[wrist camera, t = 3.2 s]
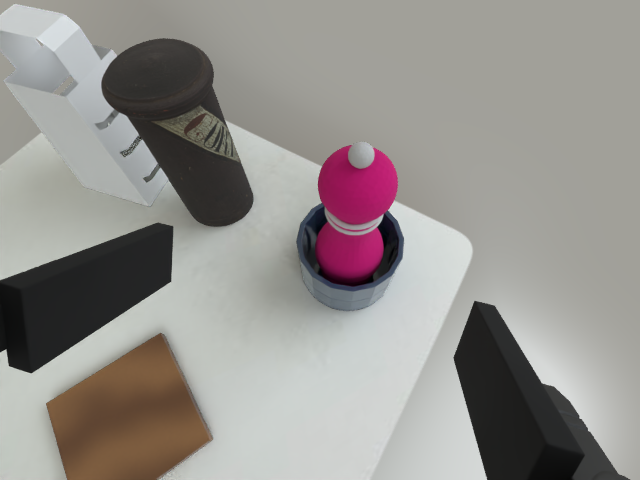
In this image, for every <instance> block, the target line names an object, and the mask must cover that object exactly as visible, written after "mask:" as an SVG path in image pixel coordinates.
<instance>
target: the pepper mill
mask: <svg viewBox="0 0 640 480" xmlns="http://www.w3.org/2000/svg"><path fill="white" fill-rule="evenodd" d="M397 179H398V178H397V173H396V170H395V168H394V165H393V164H392V162H391V161H390V159H389V158H388V157H387V156H386V155H385V154H384V153H382V152H381V151H379V150H377V149H375V148H373V147H372V146H371V145H370V144H368V143H366V142H357V143H355V144H353V145H350V146H346V147H343V148H341V149H339V150H337V151H336V152H334V153H333V154H332V155H331V156H330V157H329V158H328V159H327V160H326V161H325V163H324V164H323V166H322V168H321V171H320V174H319V178H318V191H319V196H320V199H321V201H322V203H323V205H324V206H325V215H326V218H327V220H328V222H327V223H326V224H325V225H324V226H323V228H322V229H321V231H320V232H319V234H318V236H317V239H316V244H315V256H316V260H317V263H318V265H319V267H320V268H321V272H322V275H323V277H324V278H325V279H326V280H328V281H330V282H331V283H334V284H340V285H345V286H351V287H354V286H359V285H364V284H366V283H367V282H368V281H369V280H370V278H371V276H372V275H373V274H374V273H375V272H376V270H377V269H378V268H379V266H380V264H381V261H382V258H383V251H384V246H383V240H382V236H381V233H380V232H379V230H378V228H377V226H378V225H379V224H380V222H381V221H382V218H383V215H384V213H385V212H386V211H387V210H388V209H389V208H390V206H391V205H392V203H393V202H394V199H395V197H396V193H397V188H398V181H397Z"/></svg>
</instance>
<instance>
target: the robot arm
mask: <svg viewBox="0 0 640 480" xmlns="http://www.w3.org/2000/svg"><path fill="white" fill-rule="evenodd" d="M172 247H173V226H169V225H165V224H161V223H156V224H153V225H150V226H147V227H145V228H142V229H139V230H137V231H134V232H131V233H128V234H126V235H123V236H120V237H118V238H115V239H112V240H109V241H107V242H104V243H101V244H99V245H96V246H93V247H91V248H88V249H85V250H82V251H80V252H77V253H74V254H72V255H69V256H66V257H63V258H61V259H58V260H54V261H52V262H49V263H46V264H43V265H41V266H39V267H35V268H33V269H30V270H27V271H25V272H22V273H19V274H16V275H14V276H11V277H8V278H5V279H3V280H0V352H2V351H4V350H5V349H7V356H8V363H9V366H10V367H13V368H16V369H19V370H22V371H25V372H28V373H33V372H34V371H36V370H37V369H39V368H40V367H42V366H43V365H45V364H46V363H48V362H49V361H51V360H52V359H54V358H55V357H57V356H59V355H60V354H62V353H63V352H65V351H66V350H68V349H69V348H71V347H72V346H74V345H75V344H77V343H78V342H80V341H81V340H83V339H84V338H86V337H87V336H89V335H90V334H92V333H94V332H95V331H97V330H98V329H100V328H101V327H103V326H104V325H106V324H107V323H109V322H110V321H112V320H113V319H115V318H116V317H118V316H119V315H121V314H122V313H124V312H125V311H127V310H129V309H130V308H132V307H133V306H135V305H136V304H138V303H139V302H141V301H142V300H144V299H145V298H147V297H148V296H150V295H151V294H153V293H154V292H156V291H157V290H159V289H160V288H162V287H163V286H165V285H167V284H168V283H170V282H171V272H172ZM454 361H455V365H456V369H457V372H458V376H459V379H460V383H461V387H462V390H463V394H464V398H465V401H466V405H467V408H468V412H469V415H470V419H471V422H472V426H473V430H474V434H475V437H476V441H477V444H478V448H479V452H480V455H481V459H482V462H483V466H484V470H485V473H486V476H487V480H630V479H628V478H626V477H624V476H622V475H619V474H618V473H617V471H616V470H615V468H614V467H613V465H612V464H611V462H610V461H609V459H608V458H607V456H606V455H605V453H604V452H603V450H602V449H601V448H600V446H599V444H598V443H597V442H596V440H595V439H594V437H593V436H592V434H591V433H590V432H589V431H588V428H587V427H586V425H585V424H584V422H583V421H582V419H579V415H578V413H577V412H576V410H575V409H574V407H573V406H572V405H571V403H570V401H569V400H568V399H566V398H565V397H564V396H563V395H562V394H561V393H560V392H559V391H558V390H557V389H556V388H555V387H553V386H549V385H545V384H542V383H541V381H540V380H539V378H538V376H537V375H536V373H535V371H534V370H533V368H532V366H531V365H530V363H529V361H528V360H527V358H526V357H525V355H524V353H523V352H522V350H521V348H520V347H519V345H518V344H517V342H516V340H515V338H514V337H513V335H512V334H511V332H510V330H509V329H508V327H507V325H506V324H505V322H504V320H503V319H502V317H501V315H500V314H499V312H498V310H497V309H496V307H495V306H493V305H490V304H485V303H482V302H477V301H474V304H473V307H472V309H471V312H470V315H469V318H468V321H467V323H466V325H465V328H464V331H463V334H462V336H461V339H460V342H459V345H458V347H457V350H456V352H455V355H454Z"/></svg>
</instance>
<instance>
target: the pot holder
mask: <svg viewBox="0 0 640 480" xmlns="http://www.w3.org/2000/svg"><path fill="white" fill-rule="evenodd" d="M46 405H47V409H48V412H49V416H50V420H51V423H52V427H53V430H54V434H55V437H56V441H57V445H58V448H59V452H60V455H61V459H62V462H63V466H64V470H65V473H66V477H67V480H158V479H160V478H161V477H163V476H164V475H165V474H167V473H168V472H169V471H171V470H172V469H174V468H175V467H176V466H178V465H179V464H180V463H182V462H183V461H185V460H186V459H187V458H189V457H190V456H191V455H193V454H194V453H196V452H197V451H198V450H200V449H201V448H202V447H204V446H205V445H207V444H208V443H209V442H211V441H212V440H213V438H212V436H211V433H210V431H209V429H208V427H207V425H206V423H205V421H204V418H203V416H202V414H201V412H200V410H199V408H198V406H197V403H196V401H195V399H194V397H193V395H192V393H191V391H190V388H189V386H188V384H187V382H186V380H185V378H184V376H183V373H182V371H181V369H180V367H179V365H178V363H177V361H176V358H175V356H174V354H173V352H172V350H171V348H170V346H169V344H168V341H167V339H166V337H165V335H164V334H162V333H160V334H158V335H156V336H155V337H153V338H151V339H150V340H148V341H147V342H145V343H143V344H142V345H140V346H138V347H137V348H135V349H134V350H132V351H130V352H129V353H127V354H126V355H124V356H122V357H121V358H119V359H117V360H116V361H114V362H113V363H111V364H109V365H108V366H106V367H104V368H103V369H101V370H100V371H98V372H96V373H95V374H93V375H92V376H90V377H88V378H87V379H85V380H83V381H82V382H80V383H79V384H77V385H75V386H74V387H72V388H70V389H69V390H67V391H66V392H64V393H62V394H61V395H59V396H58V397H56V398H54V399H53V400H51V401H49V402H48V403H46Z"/></svg>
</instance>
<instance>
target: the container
mask: <svg viewBox="0 0 640 480" xmlns="http://www.w3.org/2000/svg"><path fill="white" fill-rule="evenodd" d="M213 77H214V72H213V67H212V64H211V62H210V60H209V58H208V57H207V55H206V54H205V53H204V52H203V51H201V50H200V49H199V48H197V47H196V46H194V45H192V44H189V43H186V42H184V41H181V40H175V39H164V38H163V39H155V40H149V41H146V42H143V43H140V44H137V45H135V46H132V47H130V48H129V49H127V50H125V51H124V52H122V53H121V54H120V55H118V56H117V57H116V58H115V59H114V60H113V61H112V62H111V63H110V64H109V66H108V68H107V69H106V71H105V73H104V75H103V77H102V81H101V89H102V94H103V96H104V98H105V100H106V101H107V103H108V104H109V105H110V106H111V107H112V108H113V109H115V110H116V111H118V112H119V113H121V114H123V115H125V116H127V117H128V119H129V120H130V122H131V123H132V125H133V126H134V128H135V129H136V131H137V132H138V134H139V135H140V137H141V138H142V140H143V141H144V143H145V144H146V146H147V147H148V149H149V150H150V152H151V154H152V155H153V157H154V158H155V160H156V161H157V163H158V164H159V166H160V167H161V169H162V170H163V172H164V173H165V175H166V176H167V178H168V179H169V181H170V182H171V184H172V186H173V187H174V189H175V190H176V192H177V193H178V195H179V196H180V198H181V200H182V201H183V203H184V204H185V206H186V207H187V209H188V210H189V212H190V213H191V215H192V216H193V217H194V218H195V219H196V220H197V221H199V222H200V223H202V224H205V225H208V226H226V225H230V224H232V223H235V222H237V221H238V220H240V219H242V218H243V217H244V216H245V215H246V214H247V213H248V212H249V210H250V209H251V207H252V204H253V193H252V191H251V188H250V185H249V182H248V180H247V177H246V175H245V172H244V169H243V167H242V164H241V161H240V159H239V156H238V153H237V151H236V148H235V146H234V143H233V140H232V137H231V135H230V132H229V130H228V127H227V125H226V122H225V120H224V117H223V114H222V111H221V109H220V106H219V103H218V100H217V97H216V95H215V92H214V89H213V87H212V83H213Z"/></svg>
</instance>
